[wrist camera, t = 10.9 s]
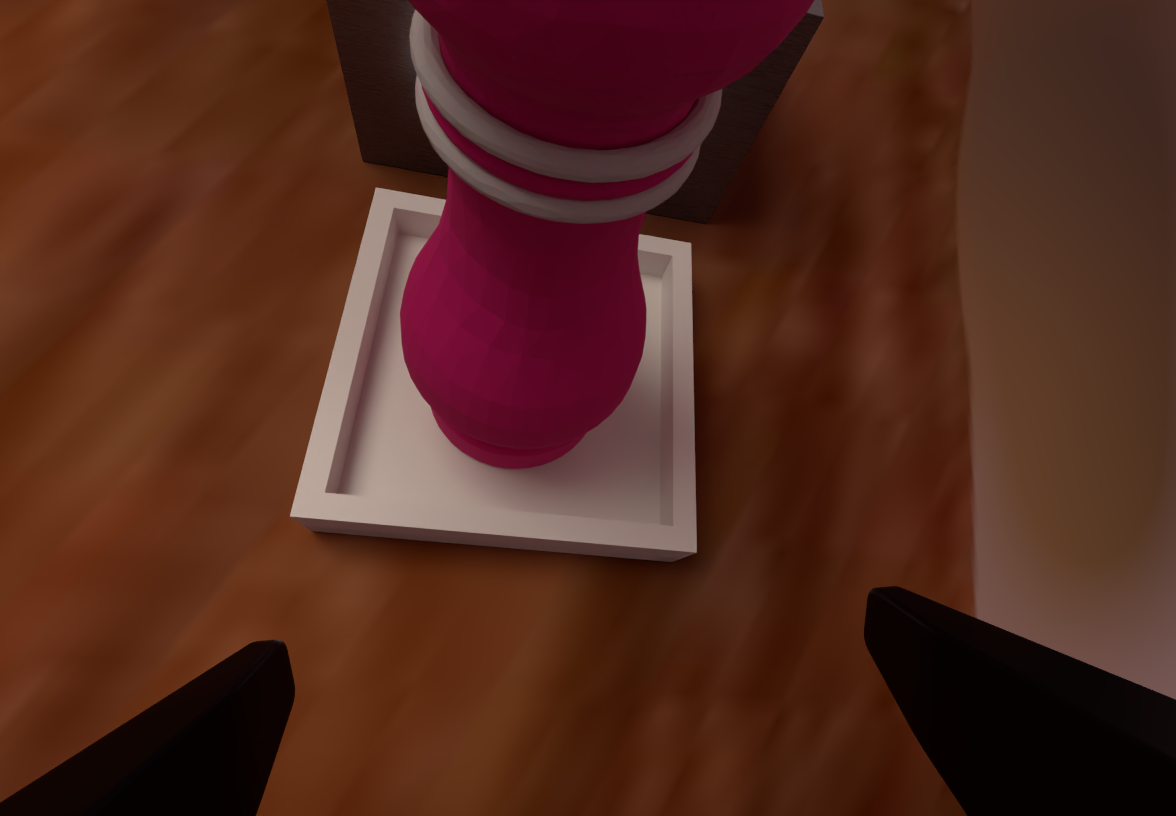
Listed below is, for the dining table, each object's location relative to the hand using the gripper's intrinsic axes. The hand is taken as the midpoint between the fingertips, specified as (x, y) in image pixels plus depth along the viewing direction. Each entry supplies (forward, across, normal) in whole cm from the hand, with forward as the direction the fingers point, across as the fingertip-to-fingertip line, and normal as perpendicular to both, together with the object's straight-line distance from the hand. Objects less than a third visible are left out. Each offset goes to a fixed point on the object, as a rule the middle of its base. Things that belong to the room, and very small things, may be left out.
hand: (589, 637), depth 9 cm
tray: (+14, +1, -1) cm, 15 cm away
